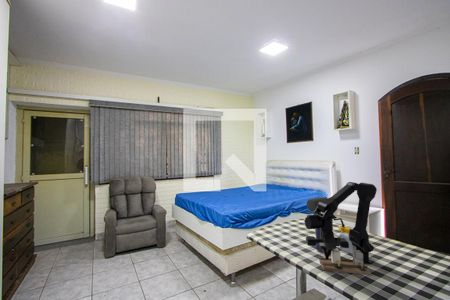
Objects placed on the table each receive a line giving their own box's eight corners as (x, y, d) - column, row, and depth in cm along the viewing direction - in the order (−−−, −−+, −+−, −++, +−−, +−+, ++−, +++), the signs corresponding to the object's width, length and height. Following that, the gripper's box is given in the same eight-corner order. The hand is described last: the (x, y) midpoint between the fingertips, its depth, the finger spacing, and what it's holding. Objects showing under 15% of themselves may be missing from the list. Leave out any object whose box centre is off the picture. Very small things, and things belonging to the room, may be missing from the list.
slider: (331, 260, 108) (331, 248, 108) (337, 260, 108) (337, 248, 108) (335, 267, 102) (335, 254, 102) (342, 268, 101) (342, 255, 101)
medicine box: (358, 253, 119) (357, 237, 119) (353, 254, 117) (352, 238, 117) (344, 247, 126) (344, 232, 126) (339, 249, 124) (339, 233, 124)
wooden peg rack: (319, 261, 110) (318, 247, 110) (362, 264, 107) (361, 249, 107) (324, 270, 101) (323, 255, 102) (371, 274, 98) (370, 258, 98)
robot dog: (336, 235, 144) (335, 215, 144) (364, 245, 128) (364, 223, 128) (330, 237, 141) (330, 216, 141) (359, 247, 125) (358, 224, 125)
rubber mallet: (316, 255, 116) (315, 199, 116) (306, 250, 123) (305, 197, 123) (332, 250, 121) (331, 197, 122) (321, 245, 128) (320, 195, 129)
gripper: (309, 232, 101) (310, 266, 101) (353, 234, 98) (354, 269, 97) (305, 224, 112) (305, 254, 112) (344, 226, 108) (344, 257, 108)
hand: (326, 259), depth 107 cm, fingers closed
